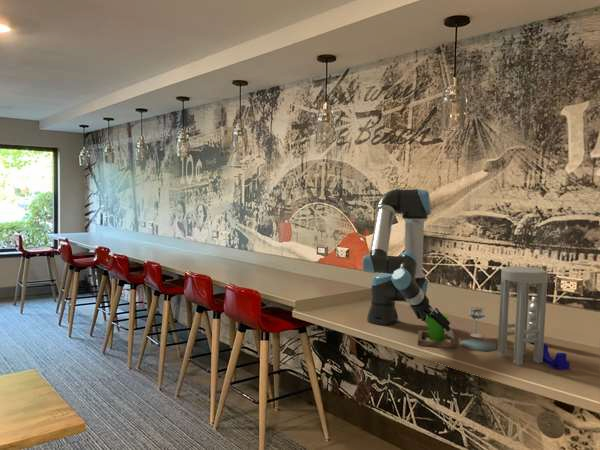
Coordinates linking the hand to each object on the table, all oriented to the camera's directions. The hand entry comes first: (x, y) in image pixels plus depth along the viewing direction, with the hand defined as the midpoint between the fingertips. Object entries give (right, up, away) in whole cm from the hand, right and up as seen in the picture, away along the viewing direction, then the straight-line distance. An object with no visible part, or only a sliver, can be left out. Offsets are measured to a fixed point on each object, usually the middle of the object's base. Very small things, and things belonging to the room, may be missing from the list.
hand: (441, 331), depth 210 cm
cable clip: (+34, -7, -26) cm, 44 cm away
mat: (+13, -5, -6) cm, 16 cm away
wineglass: (+18, -4, +8) cm, 20 cm away
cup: (-3, -4, -1) cm, 5 cm away
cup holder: (-3, -4, -1) cm, 5 cm away
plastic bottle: (+39, -5, -1) cm, 40 cm away
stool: (+24, -6, -21) cm, 33 cm away
